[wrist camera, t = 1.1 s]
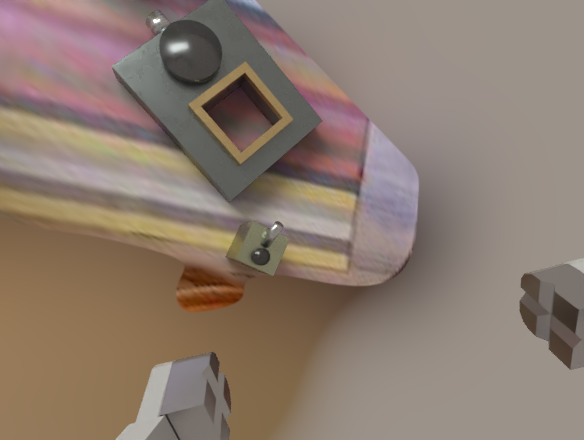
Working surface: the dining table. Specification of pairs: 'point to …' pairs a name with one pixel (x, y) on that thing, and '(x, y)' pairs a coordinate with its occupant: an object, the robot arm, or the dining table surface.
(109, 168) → the dining table surface
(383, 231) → the dining table surface
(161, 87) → the grey base plate
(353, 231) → the dining table surface
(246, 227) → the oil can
